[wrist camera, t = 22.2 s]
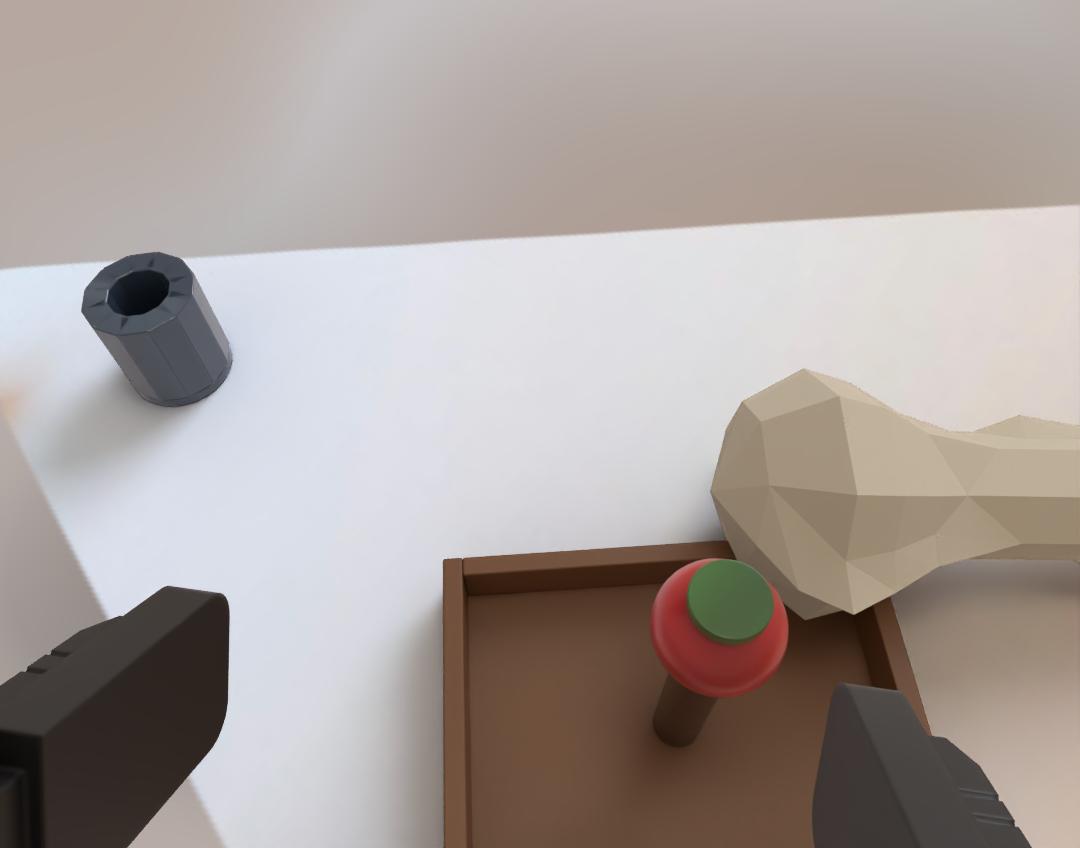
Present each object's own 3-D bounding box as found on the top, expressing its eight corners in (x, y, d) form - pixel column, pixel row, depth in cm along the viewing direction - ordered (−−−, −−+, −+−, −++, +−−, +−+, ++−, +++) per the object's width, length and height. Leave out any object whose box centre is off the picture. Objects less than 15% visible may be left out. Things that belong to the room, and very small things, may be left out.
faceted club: (676, 417, 36) (1272, 420, 36) (687, 632, 33) (1328, 631, 34) (727, 330, 27) (1502, 337, 28) (748, 609, 25) (1601, 609, 25)
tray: (453, 931, 27) (443, 926, 25) (450, 586, 33) (442, 558, 31) (944, 894, 27) (978, 886, 25) (850, 559, 33) (870, 529, 31)
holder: (113, 390, 39) (58, 317, 34) (169, 318, 41) (124, 241, 37) (197, 418, 38) (152, 347, 33) (250, 343, 40) (214, 267, 36)
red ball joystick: (613, 754, 29) (638, 640, 20) (643, 660, 31) (679, 514, 21) (712, 791, 28) (788, 692, 19) (737, 693, 30) (818, 557, 21)
